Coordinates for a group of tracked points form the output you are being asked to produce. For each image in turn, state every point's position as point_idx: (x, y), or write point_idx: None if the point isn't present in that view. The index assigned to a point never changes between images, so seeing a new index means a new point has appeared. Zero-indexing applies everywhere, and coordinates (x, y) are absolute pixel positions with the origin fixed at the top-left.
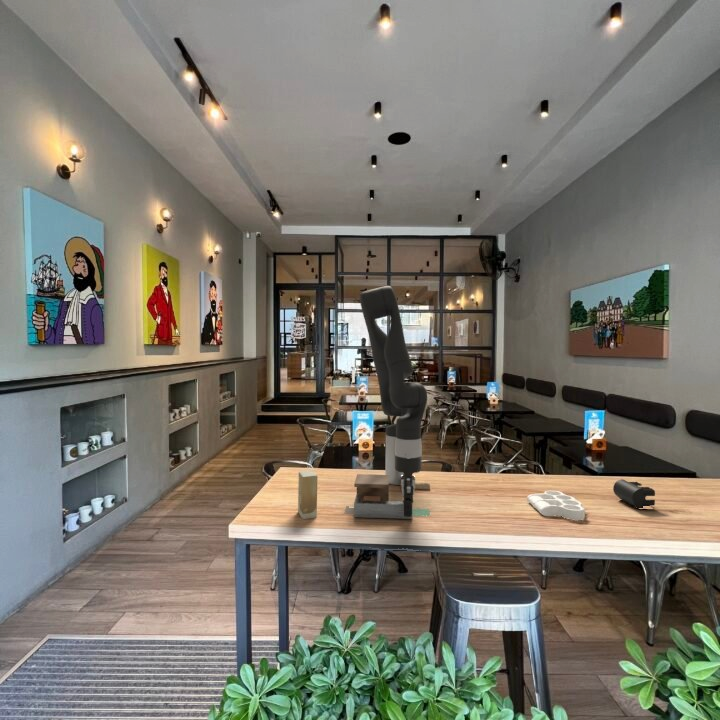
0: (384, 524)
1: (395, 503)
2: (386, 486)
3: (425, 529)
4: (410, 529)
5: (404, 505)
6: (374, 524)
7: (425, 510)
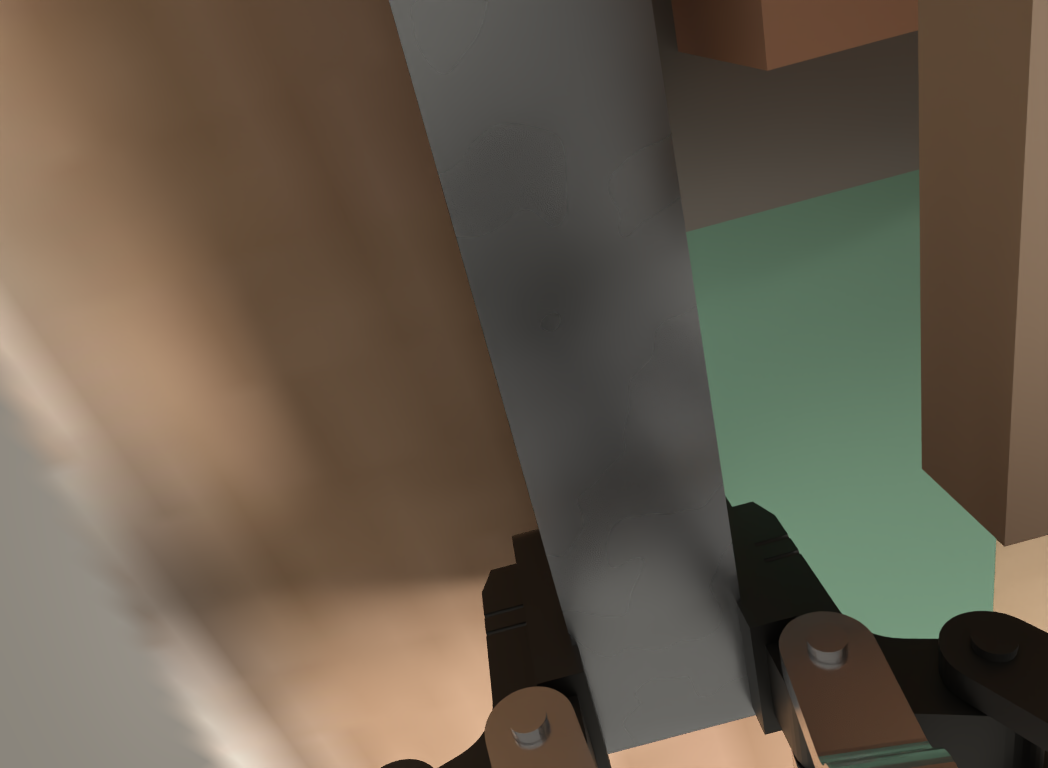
0: (262, 262)
1: (580, 502)
2: (955, 431)
3: (349, 741)
4: (265, 617)
5: (533, 659)
6: (175, 95)
7: (941, 618)
